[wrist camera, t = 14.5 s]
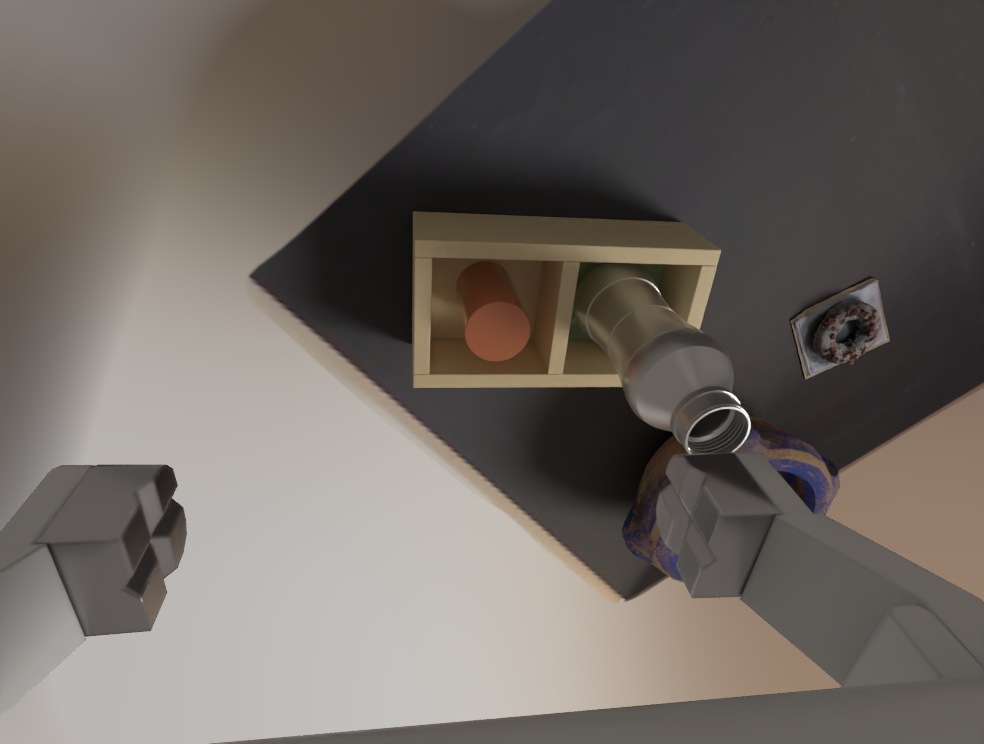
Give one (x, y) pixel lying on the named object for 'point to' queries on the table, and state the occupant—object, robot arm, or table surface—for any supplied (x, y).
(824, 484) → the bowl
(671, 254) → the divided box
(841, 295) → the donut
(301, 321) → the table surface
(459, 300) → the orange cylinder
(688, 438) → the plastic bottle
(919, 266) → the table surface
